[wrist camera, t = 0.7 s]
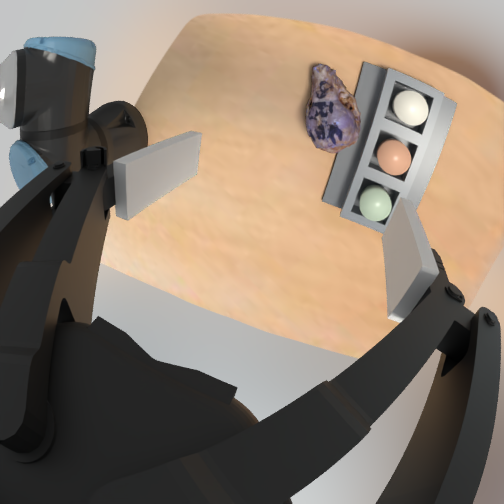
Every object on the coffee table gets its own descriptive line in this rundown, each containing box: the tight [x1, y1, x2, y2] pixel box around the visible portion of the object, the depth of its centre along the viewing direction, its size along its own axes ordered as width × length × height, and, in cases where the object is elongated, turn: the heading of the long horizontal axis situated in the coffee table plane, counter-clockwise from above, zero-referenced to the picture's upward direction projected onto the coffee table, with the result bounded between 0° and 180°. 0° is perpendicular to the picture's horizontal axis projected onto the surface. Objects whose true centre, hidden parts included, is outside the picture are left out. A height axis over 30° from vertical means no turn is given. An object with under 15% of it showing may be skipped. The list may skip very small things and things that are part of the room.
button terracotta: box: [377, 138, 411, 175], centre depth 31 cm, size 4×4×2 cm
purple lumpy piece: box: [306, 64, 361, 153], centre depth 31 cm, size 12×8×6 cm, turn 6°
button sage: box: [360, 185, 392, 221], centre depth 35 cm, size 4×4×2 cm
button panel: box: [322, 62, 457, 234], centre depth 33 cm, size 14×22×4 cm, turn 169°
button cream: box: [392, 91, 428, 126], centre depth 27 cm, size 4×4×2 cm
